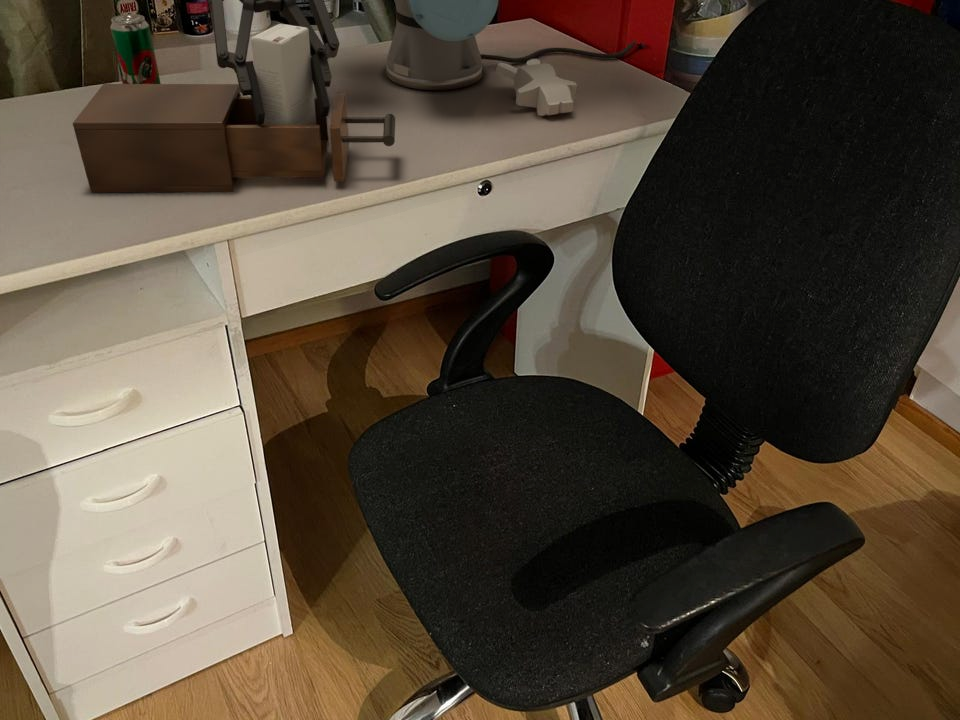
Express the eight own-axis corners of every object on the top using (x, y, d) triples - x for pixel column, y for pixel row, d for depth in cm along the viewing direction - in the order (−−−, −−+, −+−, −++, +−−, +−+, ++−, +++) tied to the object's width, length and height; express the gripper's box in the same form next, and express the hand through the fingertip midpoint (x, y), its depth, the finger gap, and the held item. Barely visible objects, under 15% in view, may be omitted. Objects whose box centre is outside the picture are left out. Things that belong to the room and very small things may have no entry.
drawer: (396, 143, 114) (394, 92, 110) (395, 181, 105) (393, 127, 100) (228, 144, 112) (220, 92, 108) (213, 182, 103) (204, 128, 99)
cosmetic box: (288, 120, 109) (277, 21, 102) (319, 126, 108) (310, 26, 100) (260, 138, 104) (247, 35, 97) (292, 144, 103) (281, 41, 96)
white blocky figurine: (533, 96, 120) (489, 51, 129) (529, 130, 123) (486, 83, 133) (592, 88, 123) (545, 45, 133) (586, 121, 126) (541, 76, 136)
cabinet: (248, 148, 113) (239, 83, 108) (233, 191, 103) (222, 122, 98) (119, 149, 112) (103, 83, 107) (91, 192, 102) (72, 122, 97)
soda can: (169, 99, 126) (153, 14, 119) (156, 112, 122) (138, 24, 115) (136, 97, 127) (117, 12, 119) (121, 109, 123) (101, 22, 115)
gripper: (328, -51, 110) (370, 119, 108) (166, -42, 104) (207, 138, 102) (336, -89, 103) (380, 91, 101) (162, -82, 97) (206, 111, 95)
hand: (293, 115), depth 101 cm, fingers closed on cosmetic box, 7 cm apart
